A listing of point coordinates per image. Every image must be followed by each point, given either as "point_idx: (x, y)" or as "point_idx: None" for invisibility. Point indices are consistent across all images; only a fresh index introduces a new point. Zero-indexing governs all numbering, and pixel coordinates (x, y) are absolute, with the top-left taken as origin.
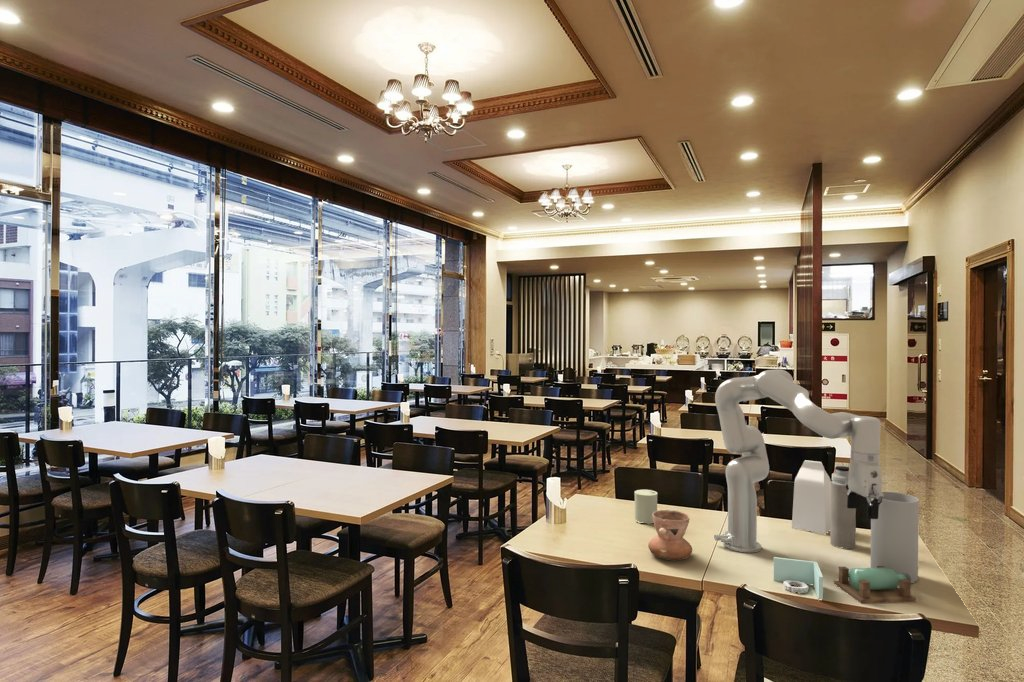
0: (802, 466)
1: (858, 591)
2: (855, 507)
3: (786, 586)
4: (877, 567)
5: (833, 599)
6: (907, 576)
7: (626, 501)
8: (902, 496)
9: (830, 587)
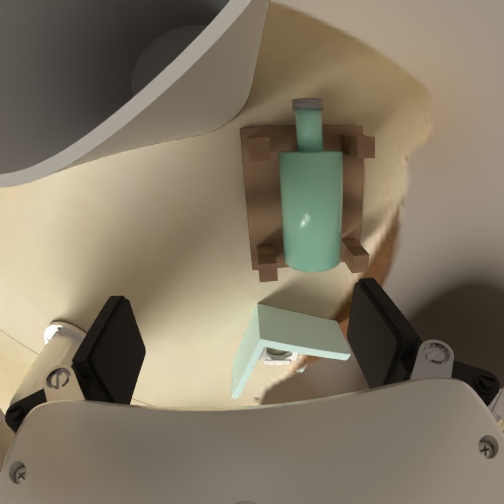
0: None
1: None
2: (132, 318)
3: (283, 363)
4: (252, 160)
5: (331, 300)
6: (321, 107)
7: None
8: None
9: (272, 281)
